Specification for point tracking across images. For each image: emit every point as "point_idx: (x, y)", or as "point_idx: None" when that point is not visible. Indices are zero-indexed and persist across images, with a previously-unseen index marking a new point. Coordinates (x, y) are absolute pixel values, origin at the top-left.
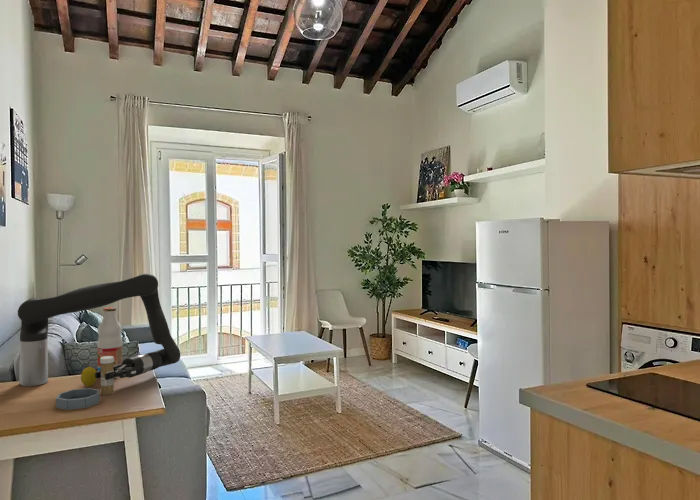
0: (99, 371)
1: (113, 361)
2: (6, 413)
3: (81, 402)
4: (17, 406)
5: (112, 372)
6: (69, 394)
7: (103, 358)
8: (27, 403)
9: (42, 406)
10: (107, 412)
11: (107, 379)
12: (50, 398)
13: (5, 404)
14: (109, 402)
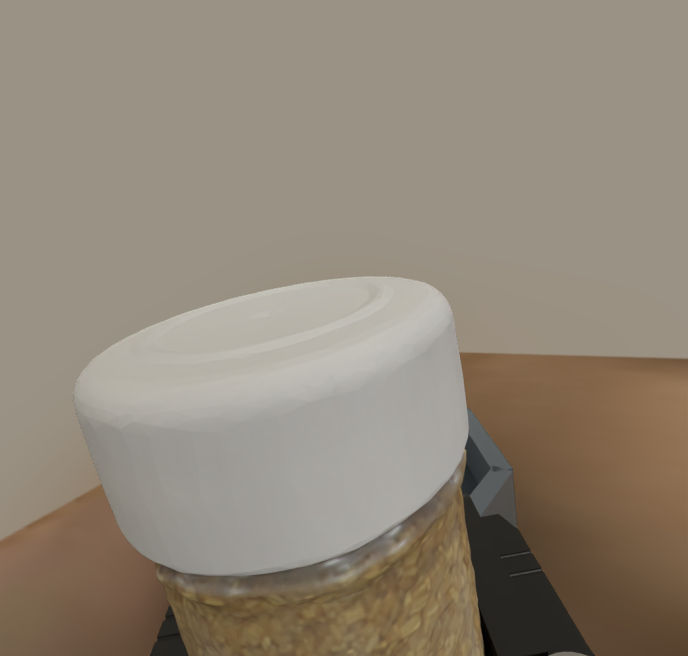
0: (470, 540)
1: (112, 507)
2: (486, 354)
3: None
4: (565, 373)
5: (175, 651)
6: (480, 470)
7: (260, 292)
8: (593, 393)
9: (477, 414)
10: (58, 536)
11: None
12: (638, 462)
13: (641, 357)
14: (138, 653)
